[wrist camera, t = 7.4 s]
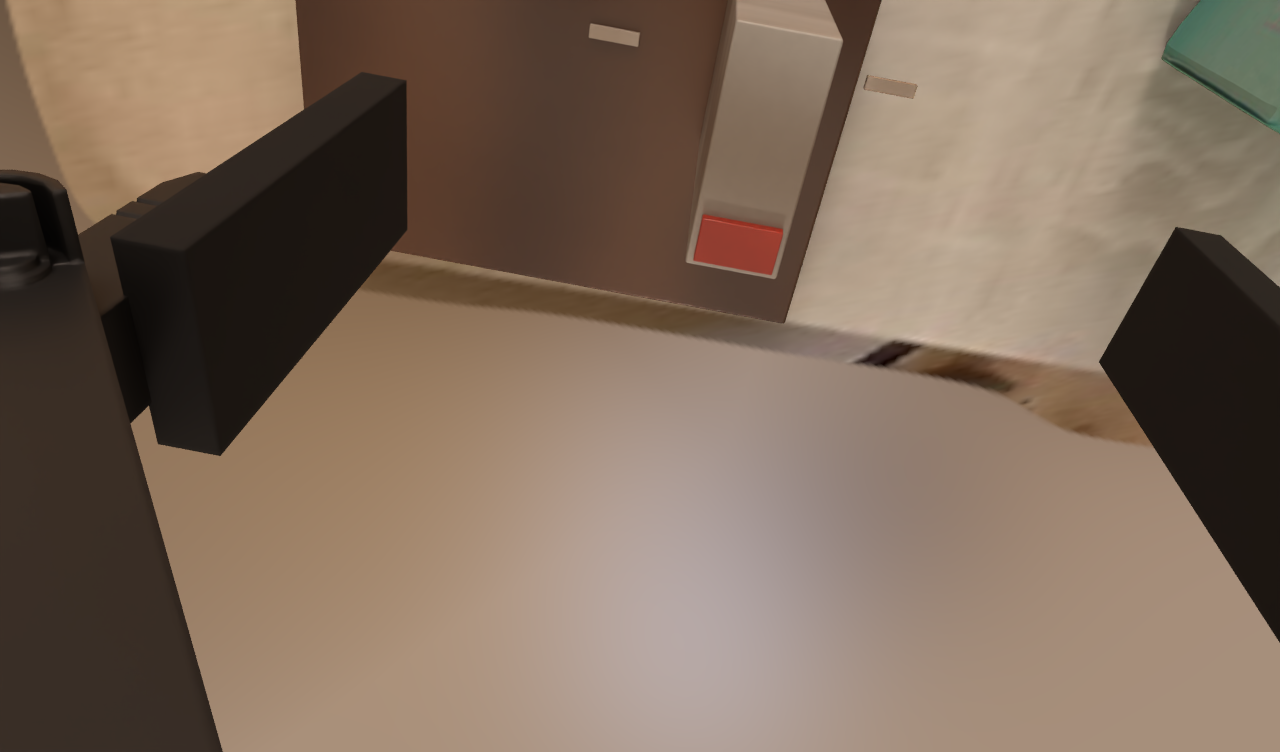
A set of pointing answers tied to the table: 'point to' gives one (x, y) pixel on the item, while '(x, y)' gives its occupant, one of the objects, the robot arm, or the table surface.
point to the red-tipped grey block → (760, 131)
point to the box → (1233, 54)
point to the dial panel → (570, 134)
